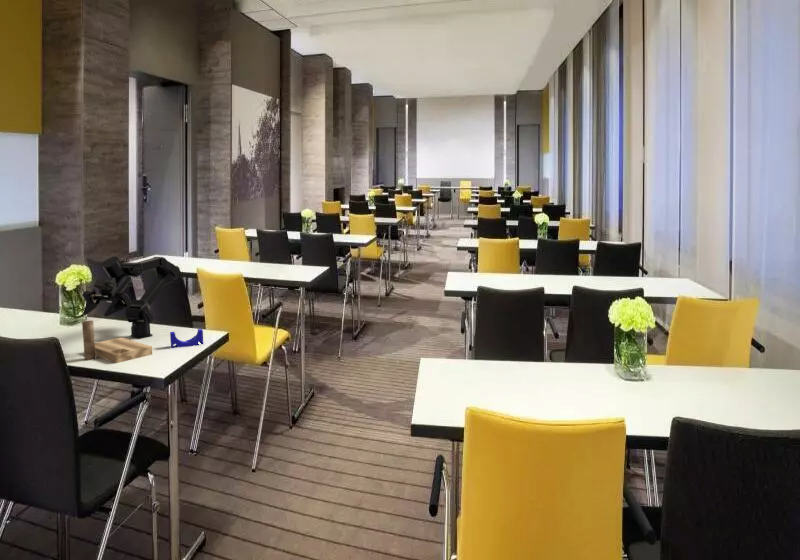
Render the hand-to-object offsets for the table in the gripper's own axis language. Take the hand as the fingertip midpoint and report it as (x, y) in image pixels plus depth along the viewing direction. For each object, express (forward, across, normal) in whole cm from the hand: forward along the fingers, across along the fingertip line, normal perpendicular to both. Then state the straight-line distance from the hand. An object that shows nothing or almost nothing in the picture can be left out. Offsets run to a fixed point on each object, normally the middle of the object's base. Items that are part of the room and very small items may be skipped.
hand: (94, 315), depth 218 cm
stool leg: (+14, +3, +8) cm, 17 cm away
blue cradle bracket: (-7, +26, +23) cm, 36 cm away
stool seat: (+7, +9, +13) cm, 17 cm away
